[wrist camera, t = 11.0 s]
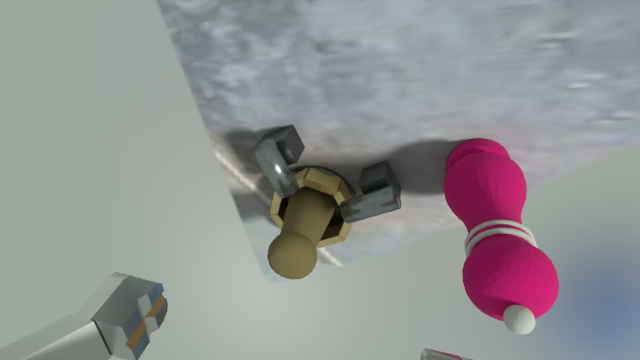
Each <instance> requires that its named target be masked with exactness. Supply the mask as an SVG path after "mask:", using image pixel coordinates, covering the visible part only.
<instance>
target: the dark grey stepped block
mask: <svg viewBox="0 0 640 360" xmlns="http://www.w3.org/2000/svg"><path fill="white" fill-rule="evenodd" d="M304 148H305V147H304V145H303V143H302V141H301V139H300V137H299V135H298V133H297V131H296V129H295V127H294V125H292V126H289V127H286V128H284V129H281V130H278V131H275V132H272V133H270V134H267V135H264V136H263V138H262V139H261V140H260V142H259V143H258V144H257V145H256V146H255V147H254V148H253V149H252V151H251V152H252V153H253V155H254V157H255V158H256V160H257V162H258V163H259V165H260V167H261V168H262V170H263V172H264V173H265V175H266V177H267V178H268V180H269V182H270V183H271V185H272V187H273V188H274V190H275V192H276V193H277V195H278V197H279V198H286V197H289V196H291V195H293V194H294V193H295V192H296V191H297V190H298V189H299V184H298V183H297V181H296V179H295V177H294V175H293V174H292V172H291V170H290V168H289V166H288V165H291V164H294V163H297V161H298V160H299V158H300V156H301V154H302V152H303V150H304Z"/></svg>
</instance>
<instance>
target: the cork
mask: <svg viewBox="0 0 640 360" xmlns="http://www.w3.org/2000/svg"><path fill="white" fill-rule="evenodd" d="M335 208H336V201H335V199H334V197H333V195H330V194H327V193H324V192H322V191H319V190H316V189H313V188H310V187H307V186H304V187H301V188H299V189H298V190H297V191H296V192H295V193H294V194H293V195H291V196H290V197H289V201H288V205H287V209H286V213H285V217H284V221H283V225H282V229H281V233H280V235H278V236H277V237H276V238H275V239H274V240H273V242H272V243H271V244H270V246H269V250H268V261H269V265H270V266H271V268H272V269H273V270H274V271H275V272H276V273H277V274H279V275H280V276H282V277H285V278H288V279H301V278H304V277H306V276H307V275H309V274H310V273H311V272H312V270H313V269H314V267H315V264H316V261H317V250H316V247H317V245H318V243H319V241H320V239H321V237H322V235H323V233H324V231H325V229H326V227H327V225H328V223H329V221H330V219H331V217H332V216H333V214H334V211H335Z"/></svg>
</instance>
